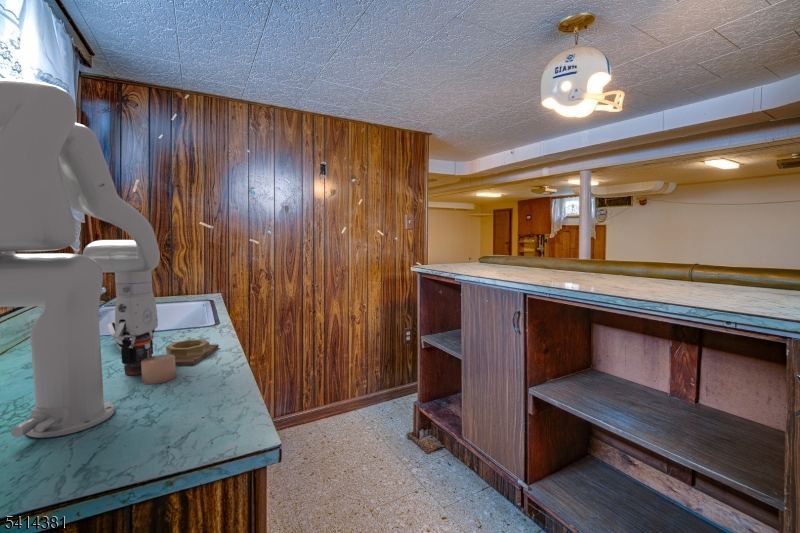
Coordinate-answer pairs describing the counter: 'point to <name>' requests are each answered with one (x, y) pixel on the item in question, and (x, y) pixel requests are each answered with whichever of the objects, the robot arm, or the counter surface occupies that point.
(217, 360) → the counter surface
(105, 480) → the counter surface
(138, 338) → the supplement bottle
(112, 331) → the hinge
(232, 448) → the counter surface
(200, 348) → the holder plate
